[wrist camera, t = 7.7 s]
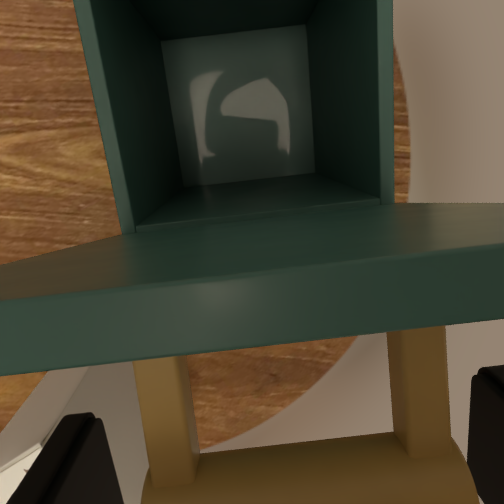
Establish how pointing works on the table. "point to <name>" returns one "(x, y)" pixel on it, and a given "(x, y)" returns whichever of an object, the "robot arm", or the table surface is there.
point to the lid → (272, 337)
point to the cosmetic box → (72, 402)
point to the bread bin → (241, 107)
